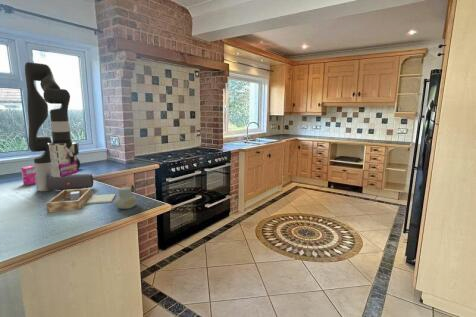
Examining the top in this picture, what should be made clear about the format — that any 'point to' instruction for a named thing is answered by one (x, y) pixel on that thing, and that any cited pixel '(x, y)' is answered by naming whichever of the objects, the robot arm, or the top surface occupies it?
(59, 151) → the candy bar box
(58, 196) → the oak bin
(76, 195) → the light grey cube
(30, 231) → the top surface
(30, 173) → the supplement box
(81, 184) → the bluetooth speaker
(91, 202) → the plate
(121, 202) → the air freshener
